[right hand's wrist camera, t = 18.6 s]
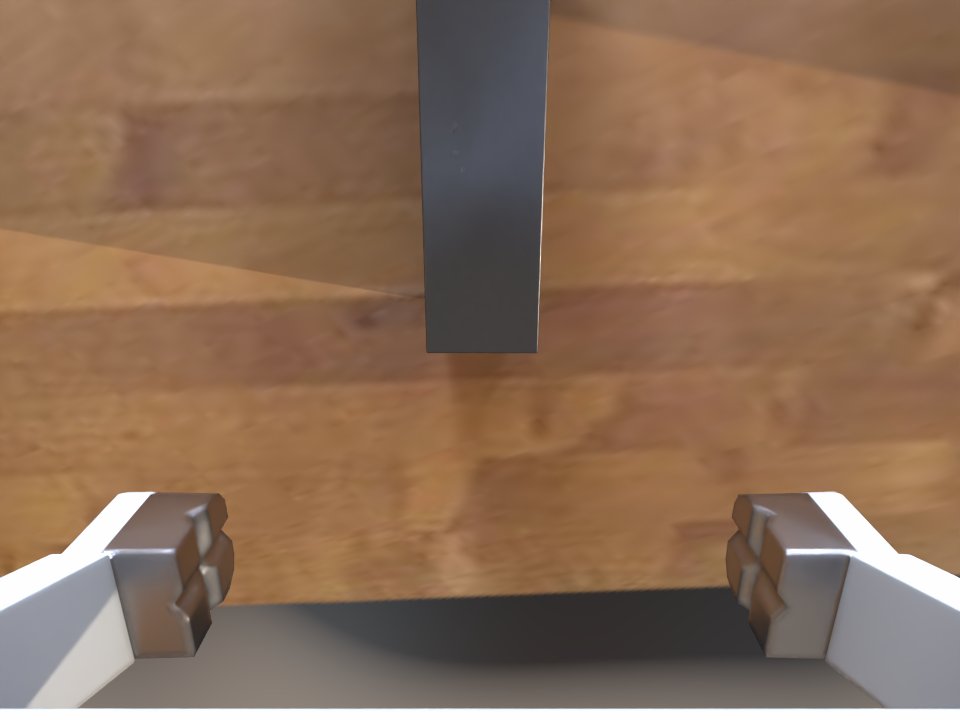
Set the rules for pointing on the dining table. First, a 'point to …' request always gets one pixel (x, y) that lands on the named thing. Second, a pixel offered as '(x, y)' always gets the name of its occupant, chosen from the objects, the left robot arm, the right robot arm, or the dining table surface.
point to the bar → (482, 170)
